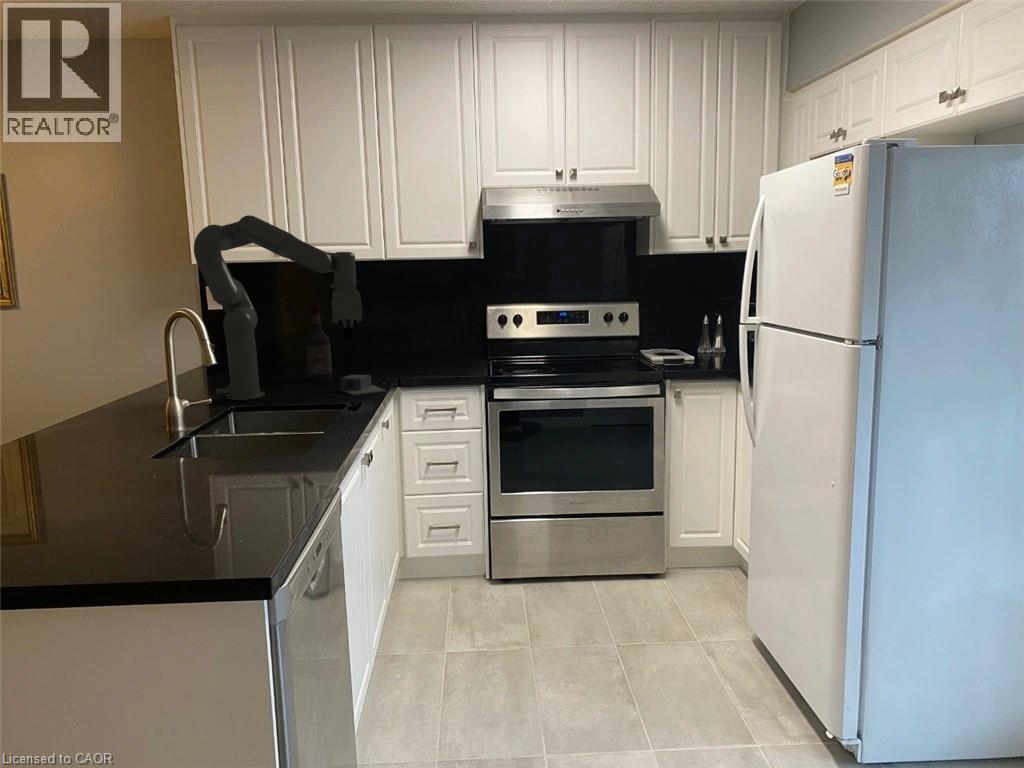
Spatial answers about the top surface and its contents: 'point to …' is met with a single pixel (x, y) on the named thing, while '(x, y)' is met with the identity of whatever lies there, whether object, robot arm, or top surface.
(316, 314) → the liquor
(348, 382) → the medicine box
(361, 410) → the top surface
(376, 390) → the mat
